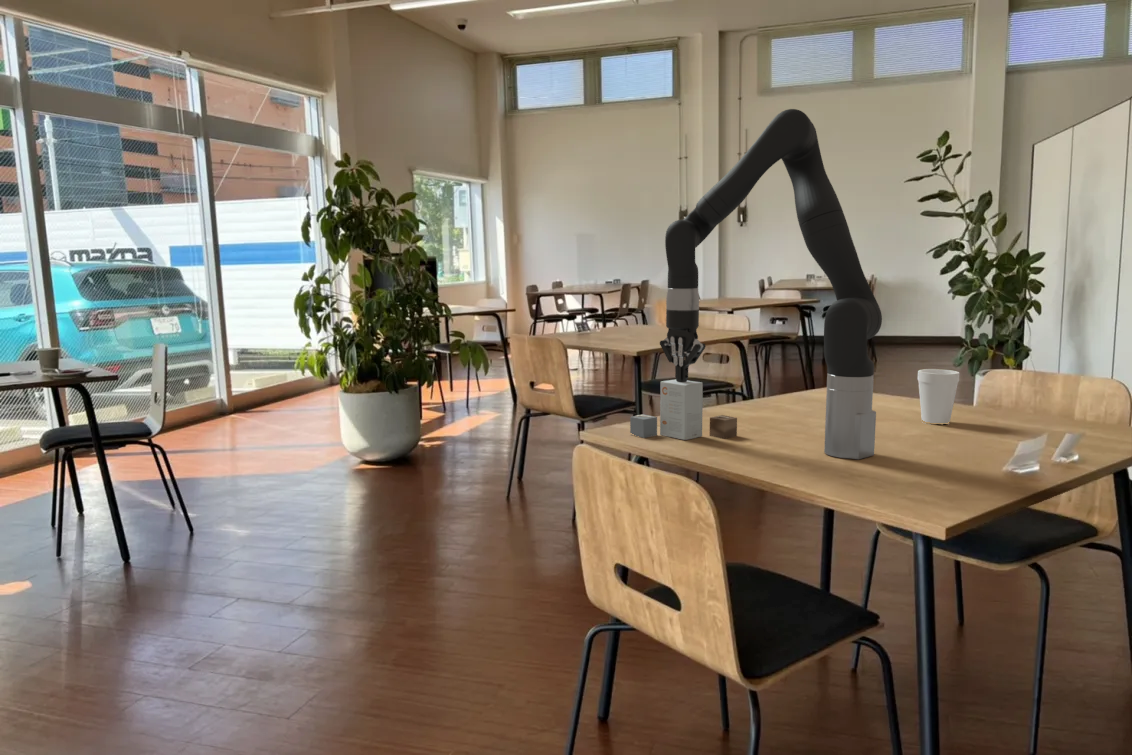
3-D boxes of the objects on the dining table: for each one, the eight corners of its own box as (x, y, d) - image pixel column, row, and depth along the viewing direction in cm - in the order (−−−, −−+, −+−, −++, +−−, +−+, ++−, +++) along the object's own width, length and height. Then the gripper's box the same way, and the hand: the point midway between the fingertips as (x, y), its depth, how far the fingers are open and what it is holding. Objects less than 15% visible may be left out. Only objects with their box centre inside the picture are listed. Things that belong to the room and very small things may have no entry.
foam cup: (961, 426, 198) (964, 374, 196) (921, 426, 200) (924, 374, 198) (949, 419, 208) (952, 369, 206) (911, 418, 209) (914, 368, 207)
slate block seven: (657, 435, 192) (657, 416, 192) (643, 438, 189) (643, 418, 189) (643, 432, 196) (643, 413, 195) (630, 435, 193) (630, 416, 192)
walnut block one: (736, 436, 191) (737, 416, 190) (724, 439, 188) (724, 419, 187) (721, 433, 194) (722, 414, 193) (709, 436, 191) (709, 416, 191)
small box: (702, 436, 190) (703, 382, 188) (684, 440, 186) (685, 385, 184) (677, 431, 196) (677, 378, 194) (659, 435, 192) (659, 381, 190)
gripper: (715, 308, 184) (713, 383, 187) (673, 305, 194) (672, 376, 197) (692, 309, 179) (691, 386, 182) (650, 307, 190) (650, 380, 192)
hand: (681, 381), depth 189 cm, fingers closed
